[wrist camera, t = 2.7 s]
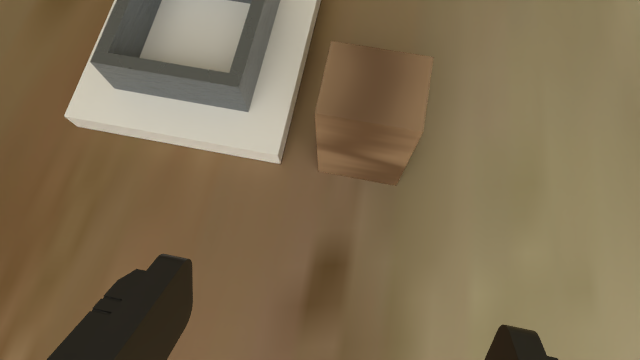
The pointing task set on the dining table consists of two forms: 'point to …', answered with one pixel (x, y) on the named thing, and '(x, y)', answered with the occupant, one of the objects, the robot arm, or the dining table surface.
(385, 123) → the walnut block
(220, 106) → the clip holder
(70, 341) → the robot arm
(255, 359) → the dining table surface
